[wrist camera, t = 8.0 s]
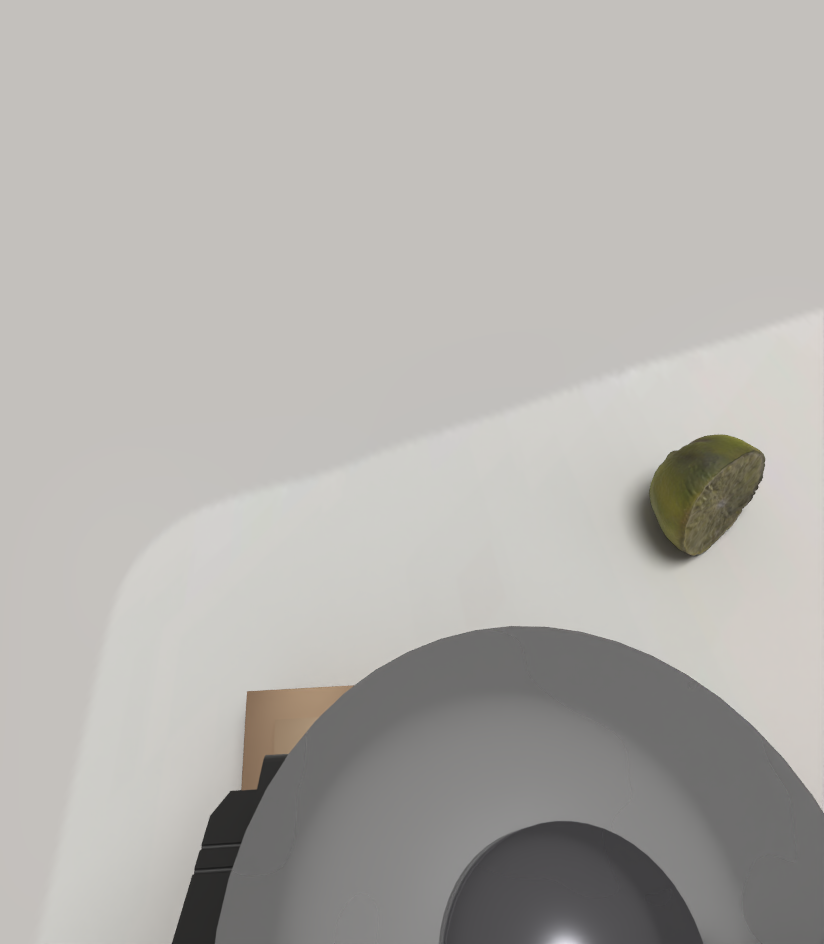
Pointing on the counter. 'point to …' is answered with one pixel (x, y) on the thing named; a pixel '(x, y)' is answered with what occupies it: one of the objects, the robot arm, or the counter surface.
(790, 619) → the counter surface
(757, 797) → the grey lidded canister
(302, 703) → the stand
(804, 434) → the counter surface
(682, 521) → the lime
